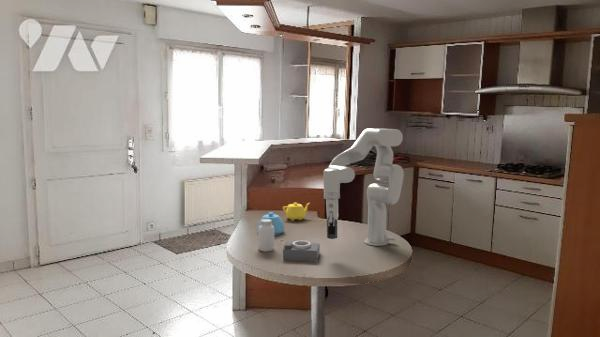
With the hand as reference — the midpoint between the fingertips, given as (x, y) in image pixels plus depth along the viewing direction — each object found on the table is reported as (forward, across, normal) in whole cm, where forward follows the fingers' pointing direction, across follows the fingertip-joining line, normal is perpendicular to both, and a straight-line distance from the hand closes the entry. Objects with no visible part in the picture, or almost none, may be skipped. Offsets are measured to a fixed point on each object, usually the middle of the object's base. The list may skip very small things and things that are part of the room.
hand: (332, 232), depth 220 cm
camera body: (+12, -1, +15) cm, 19 cm away
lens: (+3, 0, 0) cm, 3 cm away
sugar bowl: (+13, +38, +38) cm, 55 cm away
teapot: (+14, +70, +28) cm, 77 cm away
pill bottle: (+12, +7, +34) cm, 37 cm away
